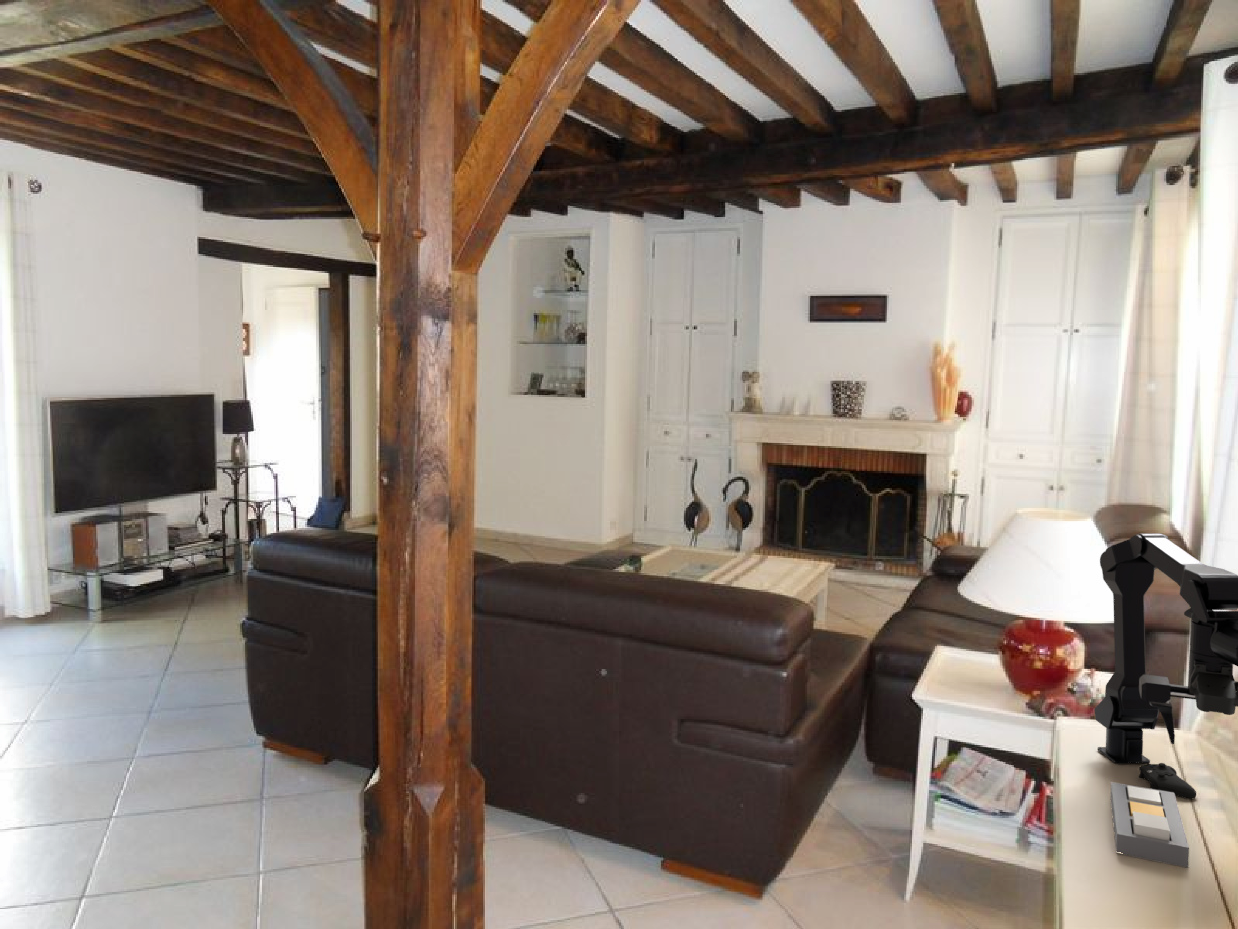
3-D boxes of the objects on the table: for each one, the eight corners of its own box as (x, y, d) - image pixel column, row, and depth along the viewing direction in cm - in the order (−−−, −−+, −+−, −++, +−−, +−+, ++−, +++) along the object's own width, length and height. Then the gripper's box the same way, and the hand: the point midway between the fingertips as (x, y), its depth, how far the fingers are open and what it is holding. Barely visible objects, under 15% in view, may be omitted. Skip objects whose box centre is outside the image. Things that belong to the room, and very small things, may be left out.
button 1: (1126, 797, 144) (1127, 785, 144) (1158, 802, 142) (1158, 790, 142) (1128, 808, 140) (1129, 796, 140) (1160, 814, 138) (1161, 802, 138)
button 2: (1132, 824, 133) (1132, 811, 133) (1166, 830, 131) (1166, 817, 131) (1134, 837, 129) (1134, 824, 129) (1169, 844, 127) (1169, 830, 127)
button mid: (1129, 813, 138) (1129, 801, 138) (1161, 819, 136) (1162, 807, 136) (1131, 825, 134) (1131, 813, 134) (1164, 832, 132) (1165, 819, 132)
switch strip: (1110, 799, 146) (1111, 782, 146) (1173, 810, 142) (1174, 792, 142) (1116, 853, 129) (1117, 834, 129) (1188, 867, 125) (1189, 847, 125)
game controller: (1201, 796, 145) (1174, 770, 146) (1175, 816, 146) (1148, 790, 147) (1177, 771, 155) (1151, 747, 155) (1152, 790, 156) (1127, 766, 156)
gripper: (1146, 658, 133) (1141, 757, 135) (1297, 675, 125) (1291, 780, 126) (1140, 639, 143) (1136, 731, 144) (1280, 654, 135) (1275, 751, 136)
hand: (1206, 748), depth 137 cm, fingers open, 9 cm apart
